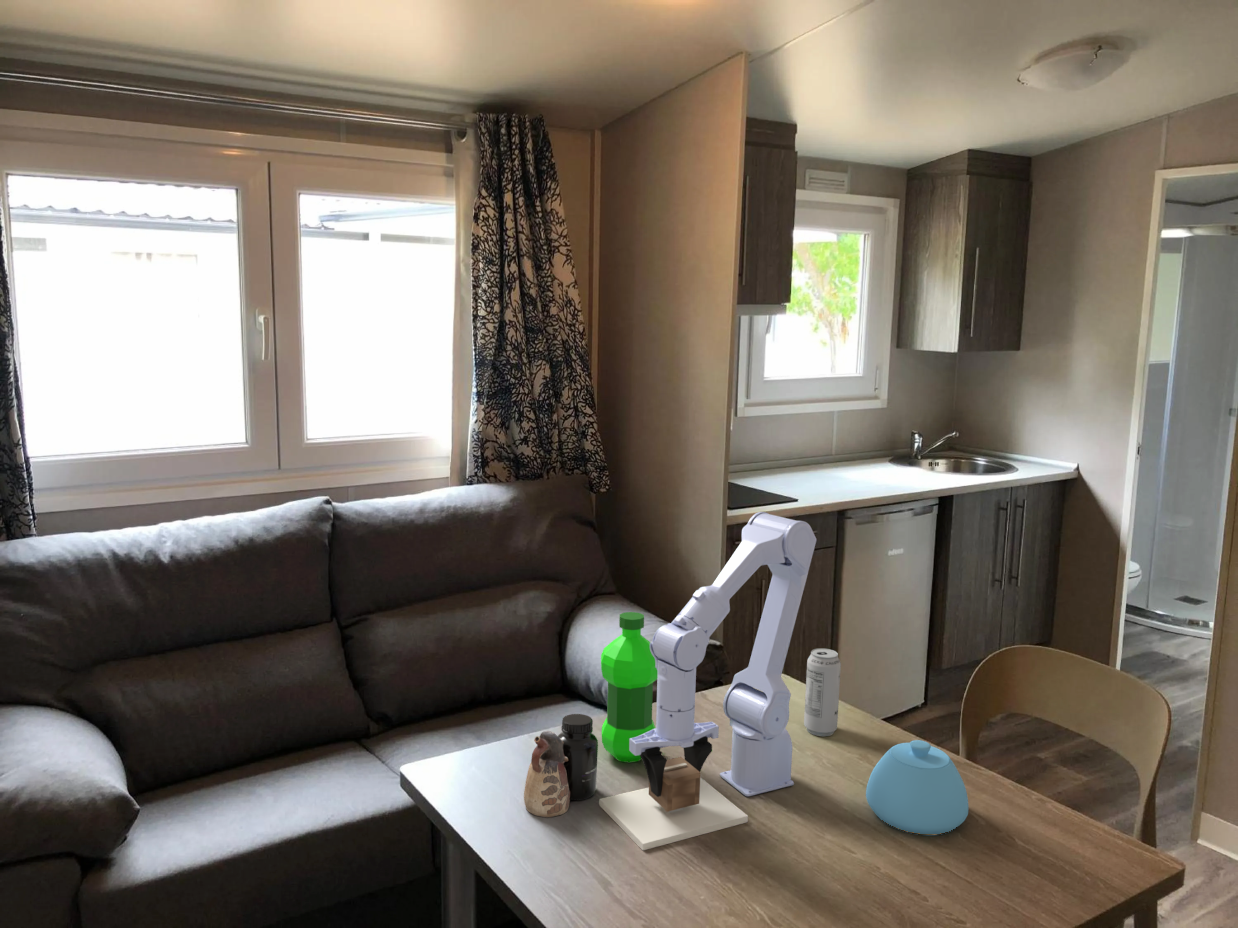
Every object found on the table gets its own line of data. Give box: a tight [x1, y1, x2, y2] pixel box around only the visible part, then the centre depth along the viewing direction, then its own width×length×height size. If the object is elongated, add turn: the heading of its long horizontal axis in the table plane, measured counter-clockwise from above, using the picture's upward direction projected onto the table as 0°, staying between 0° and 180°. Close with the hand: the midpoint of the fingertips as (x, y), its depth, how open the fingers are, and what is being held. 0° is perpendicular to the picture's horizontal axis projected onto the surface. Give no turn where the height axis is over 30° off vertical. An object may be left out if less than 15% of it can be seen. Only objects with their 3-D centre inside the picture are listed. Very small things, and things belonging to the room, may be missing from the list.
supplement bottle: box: [557, 713, 599, 801], centre depth 148 cm, size 7×7×12 cm
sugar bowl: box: [865, 739, 970, 834], centre depth 143 cm, size 15×15×12 cm
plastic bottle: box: [600, 611, 658, 763], centre depth 160 cm, size 10×10×25 cm
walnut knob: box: [648, 756, 701, 812], centre depth 142 cm, size 6×6×5 cm
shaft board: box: [598, 776, 749, 851], centre depth 142 cm, size 18×14×4 cm
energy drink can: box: [803, 648, 842, 737], centre depth 172 cm, size 6×6×15 cm
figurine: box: [523, 730, 571, 818], centre depth 143 cm, size 7×7×12 cm
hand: (673, 789), depth 142 cm, fingers closed on walnut knob, 5 cm apart
